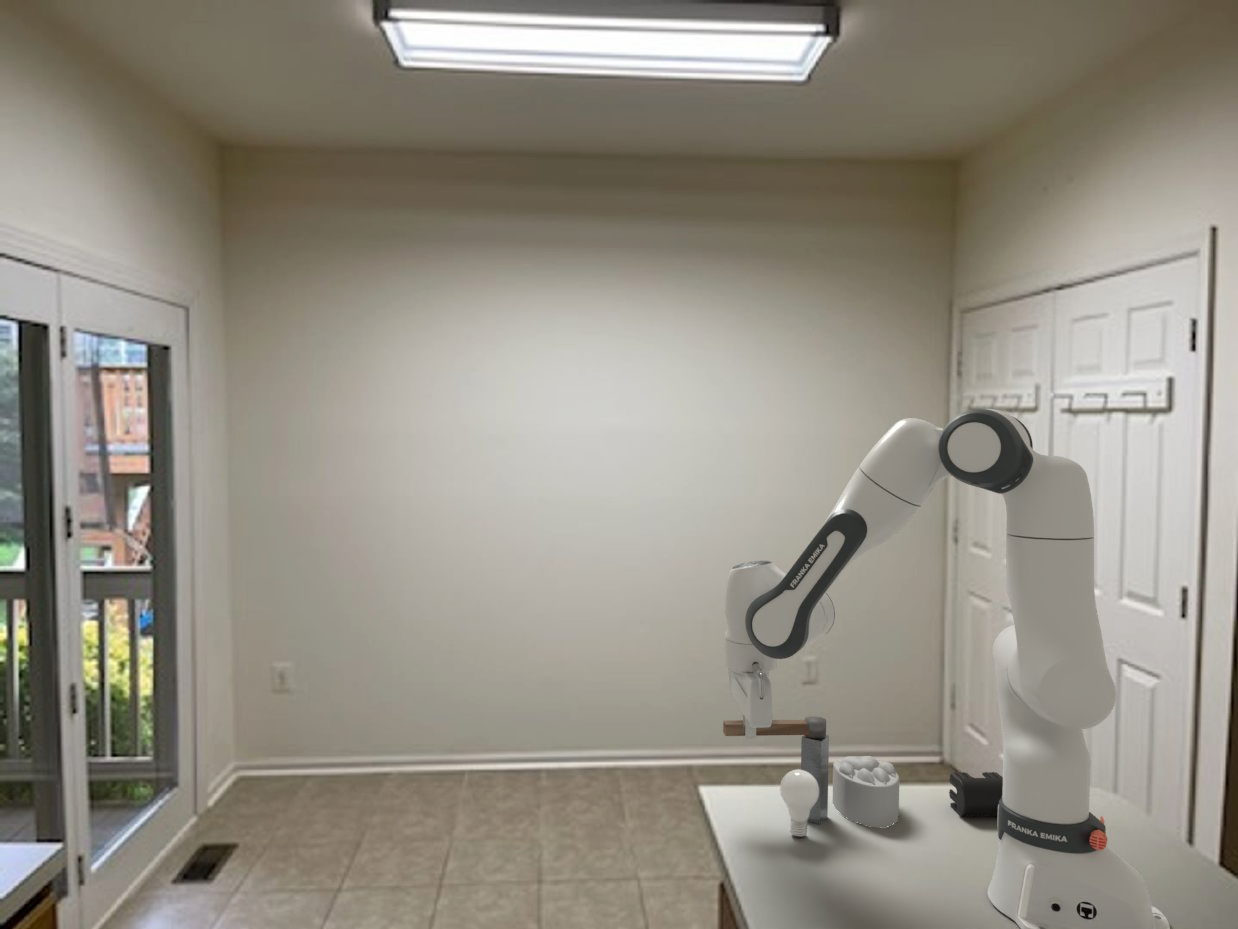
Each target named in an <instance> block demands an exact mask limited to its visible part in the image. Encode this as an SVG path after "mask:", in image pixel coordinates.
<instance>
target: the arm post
mask: <svg viewBox="0 0 1238 929" xmlns="http://www.w3.org/2000/svg"><path fill="white" fill-rule="evenodd" d="M800 747H801V748H800V750H801V754H800V756H801V757H800V770H805V771H807V772H809V773H810V774H811V775H813V777H814V778H815V779H816V781H817V783H818V786H819V797H818V800H817V802H816V803H815V805H814V806H813V807H812V809H811V811H810V814H809V818H808V819H807V822H810V823H813V822H814V824H816V823H817V825H821V824H822V823H823V822H824V821H825V820H826V819H827V818H828V813H829V812H828V811H829V810H828V808H829V803H828V802H829V801H828V800H829V764H830V762H829V759H830V758H829V756H830V755H829V752H830V735H828V734H826V737H824V738H812V737H808V736H806V735H801V746H800ZM826 817H827V818H826ZM821 822H822V823H821Z"/></svg>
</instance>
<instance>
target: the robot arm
mask: <svg viewBox="0 0 1238 929" xmlns="http://www.w3.org/2000/svg"><path fill="white" fill-rule="evenodd" d="M1032 439H1033V438H1032V435H1031V434H1030V431H1029V429H1028V428H1027V427H1026V426H1025V424H1023V423H1022V422H1021V421H1020V420H1019V419H1018V418H1016V417H1014V416H1012V415H1011V414H1009V413H1007V412H1005V411H1002V410H1000V409H995V408H975V409H970V410H965V411H963V412H961V413H958V414H956V415H955V416H954V417H953V418H951V420H949V421H948V422H947V423H946V425H945V426H944V427H943V428H941V427H940V426H936V425H935V424H933V423H932V422H929V421H927V420H924V419H920V418H916V417H915V418H914V417H909V418H903V419H900V420H899V421H897V422H895V423H894V424H893V425H892V426H891V427H890V428H889V429H888V431H886V432H885V433H884V434H883V436H881V438H880V439H879V440H878V441H877V442H876V443H875V445H874V446H872V448H871V449H870V450H869V452H868V453H867V454H866V455H865V457H864V459H863V460H862V461H861V463H860V464H859V465H858V467H857V469H856V470H855V471H854V473H853V475H852V476H851V477H850V479H849V481H848V483H847V484H846V486H845V487H844V489H843V490H842V491H843V492H842V493H841V494H840V496H839V498H838V500H837V501H836V504H835V505H834V506H833V508H832V510H831V511H830V513H829V515H828V516H827V518H826V519H825V521H824V522H823V524H822V526H821V528H820V529H819V530H818V532H817V534H816V535H815V536H814V537H813V538H812V540H811V541H810V542H809V544H807V547H806V548H805V549H804V550H803V551H802V553H801V554H800V555H799V557H798V558H797V560H796V561H795V563H793V565H792V567H791V568H790V569H789V570H788V571H787V573H785V572H784V571H782V570H781V569H780V568H779V567H778V566H777V565H776V564H775V563H774V562H773V561H769V560H756V561H755V560H753V561H749V562H743V563H740V564H736V565H735V566H733V567H732V568H731V569H730V571H729V572H728V575H727V580H726V587H725V588H726V589H725V600H724V614H725V618H726V624H727V625H726V629H725V633H724V663H723V664H724V666H725V667H726V668H727V669H728V682H729V683H728V684H729V688H730V692H731V694H732V696H733V698H734V700H735V701H736V704H737V705H738V707H739V709H740V711H741V715H742V716H741V718H742V720H743V724H744V730H743V732H744V734H745V736H744V737H745V738H746V739H755V738H757V736H756V728H764V727H770V726H771V724H772V720H773V692H772V691H773V690H772V683H771V680H770V672H771V671H774V670H775V669H777V666H778V660H783V659H789V658H791V657H793V656H794V655H795V654H797V653H798V652H799V651H801V650H802V649H803V648H805V647H807V646H810V645H811V644H812V643H814V642H816V641H818V640H820V639H821V638H823V637H824V636H826V635H827V634H828V633H829V632H830V630H831V629H832V628H833V625H834V622H835V618H836V612H835V606H834V604H833V600H832V599H831V597H830V595H829V594H828V593H827V592H828V591H829V590H830V589H831V587H832V586H833V585H834V583H835V582H836V580H838V578H839V576H840V575H841V574H842V573H843V572H844V570H845V569H847V567H848V566H849V565H850V564H851V563H852V562H854V561H855V560H856V559H858V558H859V557H860V556H862V555H864V554H866V553H867V552H869V551H871V550H872V549H875V547H878V546H881V545H883V544H884V543H885V542H887V541H890V540H891V539H892V538H894V537H895V536H896V535H897V534H899V533H900V531H901V530H903V529H904V527H906V526H907V524H908V523H910V521H911V520H912V519H913V518H914V517H915V515H916V514H917V513H918V512H919V510H920V509H921V508H922V506H923V505H924V503H925V502H926V501H927V499H928V498H929V496H930V495H931V493H932V492H933V491H934V489H935V488H936V487H937V486H938V485H939V484H940V483H941V482H942V481H943V480H945V479H947V478H949V477H954V478H955V479H956V480H957V481H959V482H961V483H964V484H967V485H969V486H971V487H972V486H973V487H976V488H980V489H984V490H986V491H989V492H992V493H995V494H998V495H999V494H1000V495H1002V498H1003V499H1004V502H1005V503H1004V504H1005V510H1006V535H1005V536H1006V538H1005V539H1006V540H1005V550H1006V551H1005V562H1006V563H1005V568H1006V569H1005V589H1006V592H1007V596H1008V598H1009V602H1010V607H1011V613H1012V618H1013V624H1012V625H1009V626H1008V627H1006V628H1004V629H1003V630H1001V631H1000V633H999V634H998V635H997V636H996V637H995V640H994V642H993V644H992V645H993V646H992V650H991V652H992V659H993V660H992V661H993V664H994V665H993V666H994V671H995V681H996V684H995V685H996V696H997V705H998V712H999V719H1000V726H1001V734H1002V735H1001V736H1002V737H1001V738H1002V751H1003V752H1002V777H1003V789H1002V796H1001V799H1000V800H999V805H998V815H997V816H996V818H997V820H996V822H997V823H996V824H997V826H996V827H997V829H996V830H997V833H998V834H997V836H998V839H999V843H998V848H997V850H998V851H997V855H996V861H995V866H994V869H993V873H992V877H991V879H990V883H989V885H988V888H987V894H986V895H987V897H988V899H989V901H990V902H991V904H992V905H993V906H994V907H995V908H996V909H997V910H998V911H1000V912H1001V913H1002V914H1004V915H1005V916H1006V917H1008V918H1010V919H1011V920H1013V921H1014V922H1015V923H1016V925H1017V926H1018V927H1019V928H1020V929H1171V925H1170V923H1169V921H1168V919H1167V917H1166V916H1165V915H1164V913H1163V912H1162V911H1161V910H1159V909H1158V908H1157V907H1155V906H1153V904H1152V900H1151V896H1150V893H1149V892H1150V891H1149V889H1148V886H1147V884H1146V881H1145V879H1144V878H1143V876H1142V875H1141V874H1140V872H1139V871H1137V870H1136V869H1135V868H1134V867H1132V866H1131V865H1130V864H1129V863H1128V862H1126V860H1124V859H1123V858H1122V857H1121V856H1119V855H1118V854H1117V853H1116V851H1114V850H1113V849H1112V848H1111V847H1109V846H1108V844H1107V843H1108V837H1107V832H1106V830H1107V829H1106V825H1105V819H1104V817H1103V816H1100V819H1099V818H1098V817H1096V815H1094V814H1093V813H1092V812H1090V796H1091V795H1090V792H1091V790H1090V789H1091V756H1090V752H1089V750H1088V746H1087V744H1086V740H1085V736H1084V730H1086V729H1087V730H1088V729H1090V728H1093V727H1096V726H1098V725H1100V724H1101V723H1103V722H1104V721H1105V720H1106V719H1107V718H1108V717H1109V716H1110V715H1111V713H1112V712H1113V709H1114V706H1115V704H1116V699H1117V698H1116V697H1117V692H1116V691H1117V690H1116V686H1115V683H1114V680H1113V678H1112V675H1111V673H1110V670H1109V667H1108V663H1107V660H1106V655H1105V654H1106V652H1105V648H1104V641H1103V636H1102V630H1101V625H1100V621H1099V620H1100V619H1099V615H1098V610H1097V604H1096V596H1095V595H1096V593H1095V520H1094V508H1093V507H1094V506H1093V498H1092V495H1091V494H1092V493H1091V488H1090V484H1089V479H1088V476H1087V473H1086V471H1085V469H1084V468H1083V467H1082V465H1080V464H1079V463H1078V462H1076V461H1074V460H1072V459H1069V458H1067V457H1064V456H1063V457H1062V456H1059V455H1045V454H1040V453H1038V452H1036V451H1035V450H1034V446H1033V440H1032Z"/></svg>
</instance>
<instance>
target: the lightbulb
mask: <svg viewBox="0 0 1238 929" xmlns="http://www.w3.org/2000/svg"><path fill="white" fill-rule="evenodd" d="M779 791H780V797H781V798H782V800H783V802H784V803H785V805H786V808H787V810H788V815H789V817H790V833H791V834H792V835H793V836H795V837H797V838H802V837H805V836H807V835H808V821H807V819H808V818H809V814H810V811H811V809H812V807H813V806H814V805H815V803H816V802H817V800H818V797H819V786H818V783H817V781H816V779H815V778H814V777H813V775H811V774H810V773H809V772H807V771H805V770H801V768H800V769H799V768H798V769H792V770H790V771H788V772H787V773H786V774H784V776H783V777H782V779H781V781H780V786H779Z"/></svg>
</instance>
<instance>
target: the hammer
mask: <svg viewBox="0 0 1238 929" xmlns="http://www.w3.org/2000/svg"><path fill="white" fill-rule="evenodd" d="M722 730H723V731H722V732H723V734H724V735H725V737H746V736H745V734H744V732H743V730H744V724H743V719H742V720H723V729H722ZM804 735H806V736H808V737H812V738H824V737H826V735H827V719H826V718H824V717H821V716H815V715H811V716H810V715H809V716H806V717H805V718H804V719H772V724H771V726H770V727H764V728H756V737H757V736H758V737H759V736H764V737H765V736H804Z"/></svg>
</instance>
